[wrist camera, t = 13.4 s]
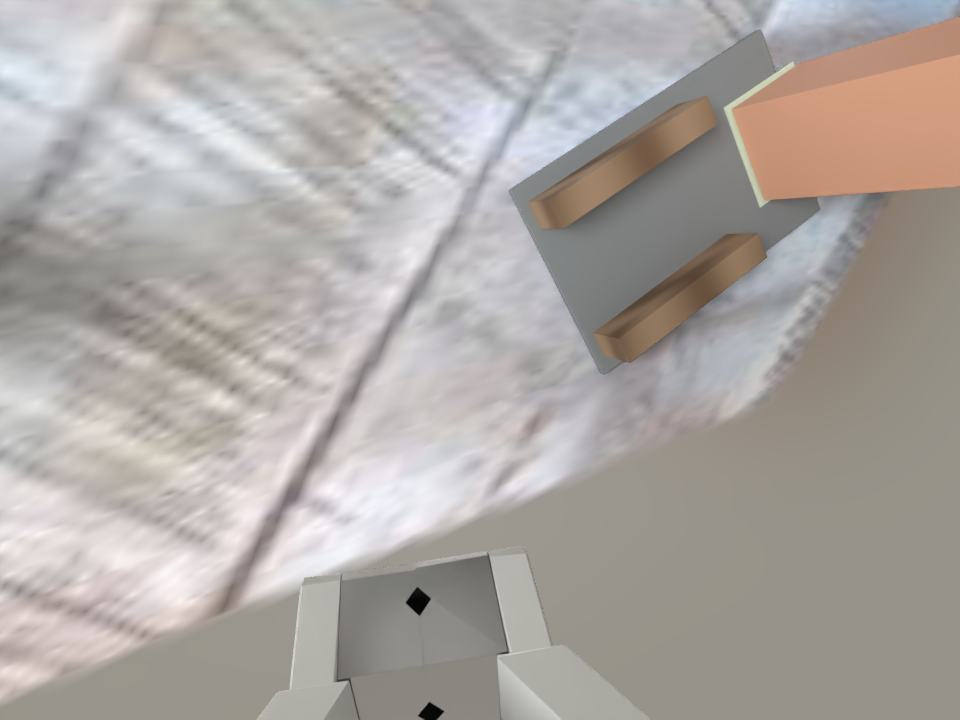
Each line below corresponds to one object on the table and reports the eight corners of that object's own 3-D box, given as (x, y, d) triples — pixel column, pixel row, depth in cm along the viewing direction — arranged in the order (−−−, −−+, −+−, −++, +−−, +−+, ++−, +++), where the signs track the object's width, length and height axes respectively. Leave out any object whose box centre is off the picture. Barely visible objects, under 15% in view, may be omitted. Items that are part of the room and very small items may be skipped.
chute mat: (600, 373, 40) (605, 374, 39) (508, 190, 35) (512, 189, 35) (829, 198, 45) (836, 197, 44) (772, 20, 40) (779, 17, 40)
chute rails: (604, 355, 39) (630, 362, 37) (527, 202, 35) (550, 199, 33) (735, 256, 42) (767, 257, 39) (676, 104, 38) (707, 96, 36)
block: (764, 200, 42) (1044, 180, 28) (731, 109, 39) (1017, 40, 26) (827, 153, 43) (1123, 112, 30) (799, 62, 41) (1104, -25, 27)
